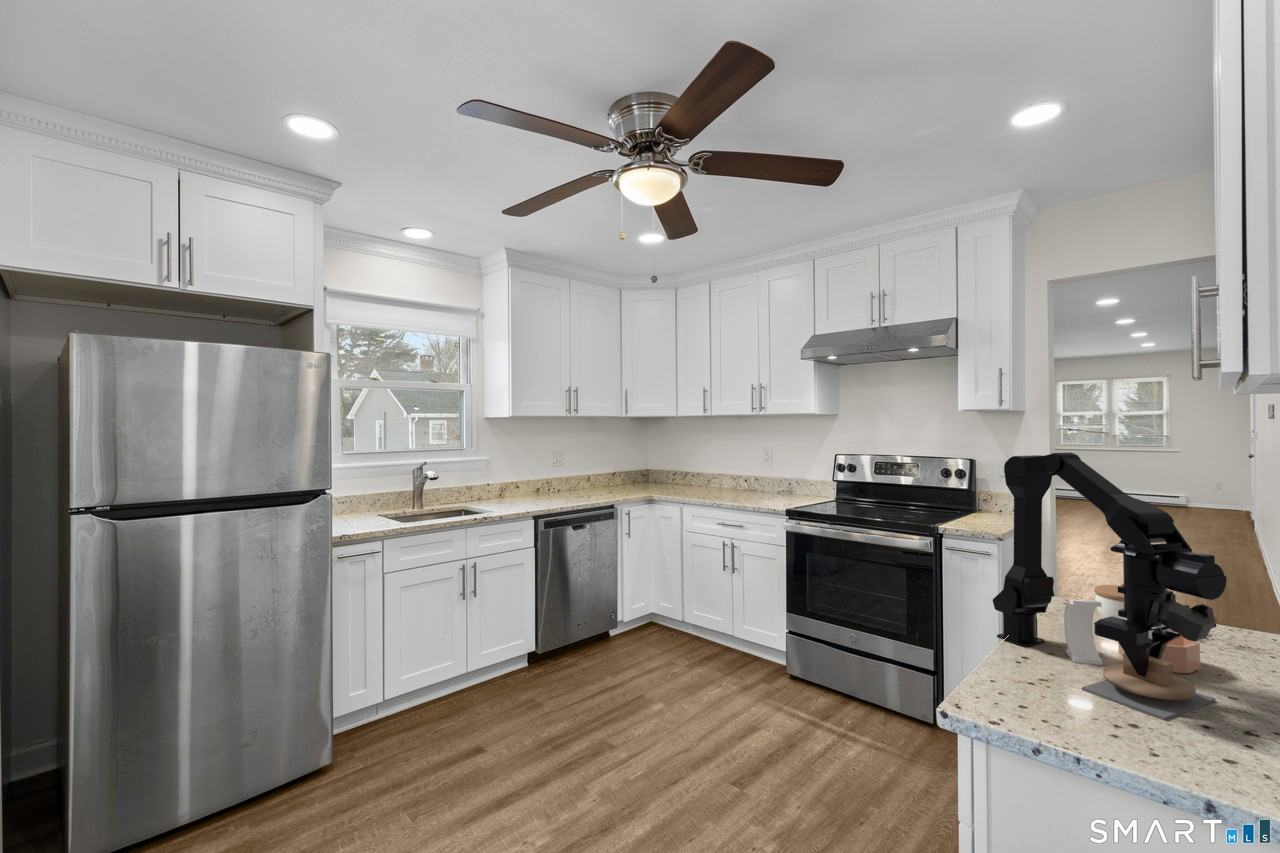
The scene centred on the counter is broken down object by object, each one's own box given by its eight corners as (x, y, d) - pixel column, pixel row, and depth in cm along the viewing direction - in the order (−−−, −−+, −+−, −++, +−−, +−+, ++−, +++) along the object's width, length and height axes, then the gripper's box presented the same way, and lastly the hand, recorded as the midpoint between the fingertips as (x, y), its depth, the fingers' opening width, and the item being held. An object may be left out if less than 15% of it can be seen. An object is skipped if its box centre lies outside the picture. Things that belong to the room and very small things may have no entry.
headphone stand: (1073, 662, 116) (1072, 600, 116) (1064, 651, 122) (1063, 592, 122) (1102, 665, 114) (1101, 602, 114) (1092, 653, 120) (1091, 594, 120)
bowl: (1177, 678, 108) (1176, 650, 108) (1109, 657, 118) (1108, 631, 118) (1209, 667, 112) (1209, 640, 112) (1141, 647, 123) (1140, 623, 123)
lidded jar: (1084, 621, 139) (1084, 581, 139) (1111, 614, 143) (1110, 575, 143) (1139, 636, 129) (1138, 592, 129) (1165, 628, 134) (1164, 586, 134)
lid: (1087, 676, 105) (1087, 651, 105) (1127, 664, 110) (1127, 640, 109) (1170, 706, 94) (1170, 678, 94) (1211, 691, 98) (1211, 664, 98)
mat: (1164, 720, 93) (1164, 717, 93) (1081, 689, 104) (1081, 687, 104) (1215, 700, 99) (1215, 698, 99) (1132, 673, 110) (1132, 671, 110)
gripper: (1171, 603, 91) (1173, 705, 91) (1235, 587, 98) (1236, 682, 98) (1091, 585, 101) (1093, 677, 101) (1154, 572, 108) (1155, 658, 108)
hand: (1146, 674), depth 102 cm, fingers closed on lid, 2 cm apart
